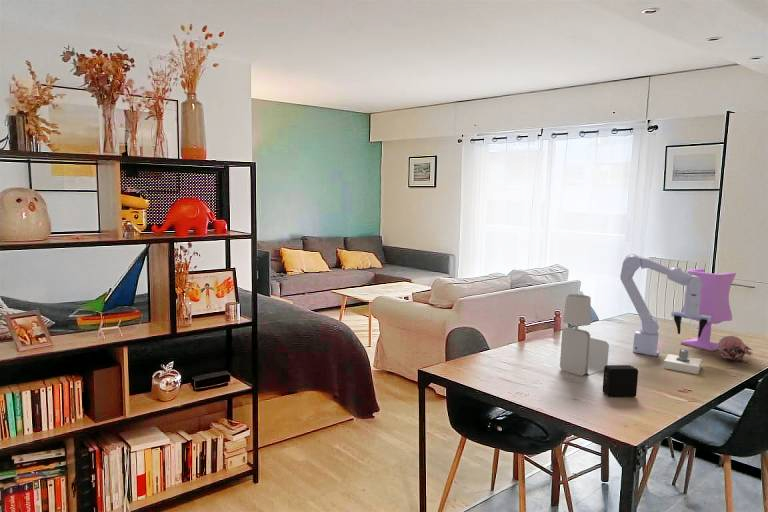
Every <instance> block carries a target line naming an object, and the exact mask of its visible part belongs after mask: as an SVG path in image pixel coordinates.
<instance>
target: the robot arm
mask: <svg viewBox="0 0 768 512" xmlns="http://www.w3.org/2000/svg"><path fill="white" fill-rule="evenodd" d="M639 268H640V269H643V270H644V269H650V270H653V271H655V272H658V273H660V274H663V275H665V276H666V277H667V279H668V280H669V281H672V282H674V283H677V284H678V285H681V286H686V288H685V294H684V303H683V304H684V305H683V307H684V312H681V311H675V310H674V311H673V310H672V311H671V317H673V320H674V322H675V326H676V328H677V335H680V334H681V325H682V324H681V323H682V317H683V319H688V318H691V319H690V320H693V319H698V320H700V328H699V327H698V329H699V334H698V333H697V338H698V337H701V333H702V330H703V328H704V326H705V325H706V323H707V321H711V316H706V315H701V314H699V307H700V296H701V294H700V292H701V288H702V286H703V284H702V280H701V279H700V278H699V277H698V276H696V275H692V273H687V271H685V270H682V268H681V267H679V266H677V267H676V266H675V267H674V266H673V267H668V266H665V265H663V264H661V263H658V262H657V261H654V260H652V259H650V258H648V257H644V256H640V255H639V256H638V255H637V254H634V253H632V254H627V256H625V258H624V260H623V262H622V266H621V271H620V276H619V277H620V281H621V283H622V285H623V287H624V289H625V291H626V293H627V294H628V297H629V298H630V299H629V300H630V301H631V302H632V305H633V307H634V308H635V310H636V313H637V314H638V317H639V319H640V321H641V325H642V328H641V329H640V330H639V331H638V330H636V331H634V337H633V347H632V348H633V349H632V352H633V353H637V354H638V353H639V354H643V355H648V356H649V355H650V356H655V357H656V356H658V354H659V352H660V351H659V350H658V345H659V344H658V342H659V331H658V330H659V324H658V320H657V319H656V318H655V316H653V315H652V313H651V311H650V310H649V308H648V306H647V305H646V302H645V300H644V298H643V296H642V294H641V292H640V291H639V289H638V286H637V285H636V282H635V281H634V278H633V277H634V275H635V273H636V271H638V270H639ZM686 316H687V317H686ZM694 317H696V318H694Z"/></svg>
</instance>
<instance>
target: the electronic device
mask: <svg viewBox="0 0 768 512" xmlns="http://www.w3.org/2000/svg"><path fill="white" fill-rule="evenodd" d="M602 377H603V378H602V393H603V394H604V395H606V396H607V397H609V398H636V396H637V393H638V392H637V390H638V380H639V379H638V378H639V370H638V368H637V367H634V366H632V365H630V364H625V365H624V364H621V365H620V364H618V365H617V364H616V365H615V364H612V365H611V364H610V365H609V364H607V365H606V366H605V367H604V370H603V376H602Z"/></svg>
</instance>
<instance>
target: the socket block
mask: <svg viewBox="0 0 768 512" xmlns="http://www.w3.org/2000/svg"><path fill="white" fill-rule="evenodd" d="M701 367H702V359H701V358H696V357H695V358H694V357H691V356H690V357H688V358H687V362H683V361H679V354H678V355H677V354H671V353H668V354H667V356H666V357H665V359H664V360H663V368H664V369H667V370H668V369H669V370H673V371H678V372H684V373H690V374H694V375H695V374H696V375H699V373H700V370H701Z"/></svg>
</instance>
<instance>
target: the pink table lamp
mask: <svg viewBox="0 0 768 512" xmlns="http://www.w3.org/2000/svg"><path fill="white" fill-rule="evenodd" d="M686 272H687V273H692V275H696V276H698V277H699V278H700V279H701V280H702V284H703V286H702V288H701V292H700V294H701V296H700V307H699V314H701V315H706V316H711V321H707V323H706V325H705V326H704V328H703V330H702V333H701V337H698V336H697V338H696V337H694V338H691V339H690V338H689V339H686V340H682V341H681V342H680V345H682V346H687V347H691V348H695V349H700V350H703V351H704V350H705V351H707V350H708V352H711V351H712V352H714V351H719V349H718V343H719V342H715V341H711V335H712V334H711V333H712V324H713V325H717V324H721V323H723V322H730V321H733V313H732V310H731V307H730V296H729V295H730V289H731V288H732V287H731V286H732V284H733V282H734V279H735V277H736V275H737V272H724V273H710V272H705V269H704V268H695V269H694V268H692V269H687V270H686ZM680 312H684V306H682V309H681V311H680ZM686 317H687V316H686ZM682 318H683V317H682ZM682 318H681V319H682ZM694 318H696V317H694ZM683 319H684V318H683ZM687 319H689V320H693V321H697V322H698V330H697V335H698V334H699V328H700V320H698V319H691V318H687Z"/></svg>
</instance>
